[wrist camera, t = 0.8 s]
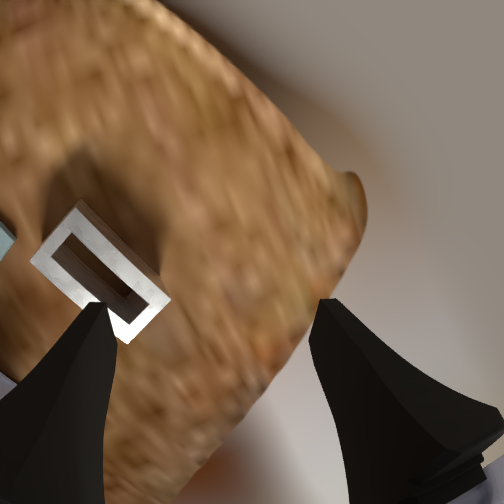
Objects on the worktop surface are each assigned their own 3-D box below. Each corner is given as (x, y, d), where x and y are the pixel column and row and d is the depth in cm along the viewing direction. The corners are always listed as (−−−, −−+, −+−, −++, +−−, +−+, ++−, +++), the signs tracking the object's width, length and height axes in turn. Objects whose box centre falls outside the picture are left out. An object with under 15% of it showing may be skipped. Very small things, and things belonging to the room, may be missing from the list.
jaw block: (122, 315, 27) (127, 343, 23) (41, 242, 22) (29, 261, 18) (160, 276, 28) (171, 299, 24) (81, 198, 23) (75, 207, 19)
